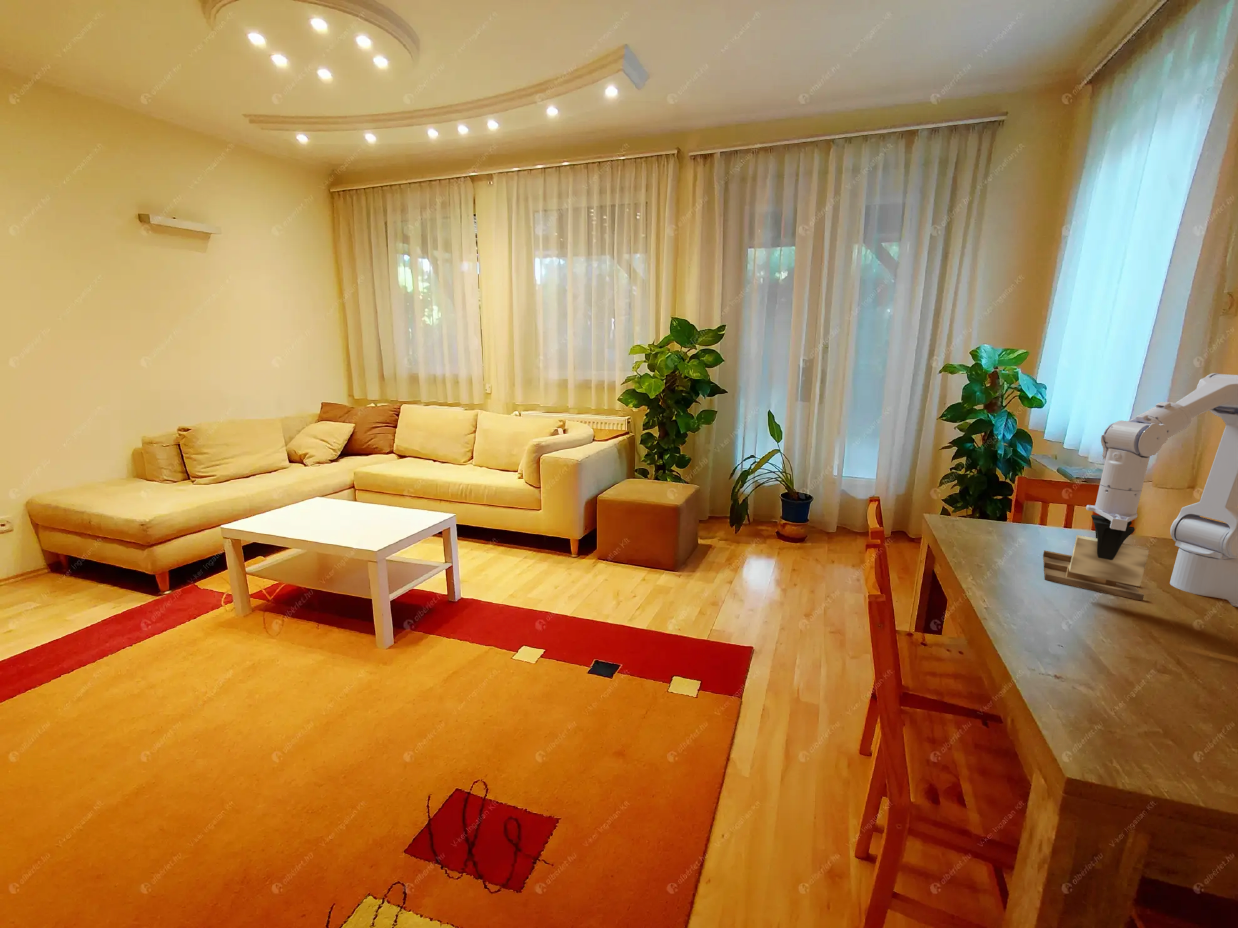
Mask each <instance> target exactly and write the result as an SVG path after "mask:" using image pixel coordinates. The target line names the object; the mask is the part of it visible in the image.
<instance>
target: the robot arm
mask: <svg viewBox="0 0 1238 928" xmlns="http://www.w3.org/2000/svg"><path fill="white" fill-rule="evenodd" d="M1208 411H1209V412H1210V413H1211V414H1213V415H1214V416H1217V417H1218V418H1221V420H1222V421H1223V422H1224V423H1225V428H1224V429H1223V432H1222V435H1221V439H1220V441H1219V443H1218V447H1217V450H1216V453H1215V456H1214V460H1213V462H1212V465H1211V468H1210V471H1209V474H1208V476H1207V479H1206V483H1205V485H1204V488H1203V491H1202V494H1201V497H1200V500H1199V501H1198V502H1195V503H1191V504H1189V505H1186V506H1182V507H1181V509H1180V511H1179V513H1178V515H1177V517H1176V518H1175V519H1174V520H1173V522H1172V524H1171V526H1170V528H1169V529H1170V530H1169V532H1170V536H1171V539H1172V540H1173V541H1174V542H1175V544H1174V546H1176V547H1178V551H1177V554H1176V558H1175V563H1174V565H1173V570H1172V573H1171V577H1170V581H1169V584H1170V586H1171V587H1174V588H1175V589H1177V590H1178V589H1179V590H1181V591H1183V592H1186V593H1190V594H1194V595H1198V596H1202V597H1211V598H1216V599H1217V598H1218V599H1222V600H1227V602H1229V603H1230V605H1231V607H1237V608H1238V374H1228V373H1227V374H1224V373H1218V372H1212V373H1209V374H1208V375H1206V376H1205V377H1202V378H1200V379H1199V381H1198V384H1197V385H1196V388H1195V389H1194V390H1193V391H1191V392H1189V393H1188V394H1186V395H1185V396H1184V397H1182V398H1180V399H1179V400H1177V401H1176V402H1173V401H1170V402H1169V401H1160V402H1158V403H1156V404H1155V406H1154V407H1151V408H1150V409H1147V410H1146V411H1143V413H1141V414H1138V415H1136V416H1135V417H1133V418H1131V419H1128V420H1118V421H1115V422H1112V423H1110V424H1109V425H1108V426H1107V427H1106V428H1105V430H1104V431H1103V434H1101V437H1100V443H1101V446H1102V451H1103V452H1102V454H1101V455H1102V458H1103V460H1104V464H1103V469H1102V473H1101V478H1100V480H1099V481H1100V482H1099V486H1098V491H1097V496H1096V500H1095V501H1096V502H1095V504H1094V505H1091V504H1087V505H1086V506H1085V509H1086V511H1089V512H1094V513H1095V514H1092V515H1091V519H1092V522H1093V525H1094V530H1095V538H1097V554H1098V558H1103V559H1108V560H1113V559H1114V557H1115V556H1116V554H1117V552H1118V550H1119V548H1120V547H1121V545H1122V543H1125V540H1126V539H1128V537H1129V536H1131V535H1132V534H1134V532H1135V530H1136V528H1135V527H1134V526H1131V525H1132V524H1133V520H1136V519H1137V517H1138V512H1137V511H1138V508H1139V503H1140V499H1141V495H1142V490H1143V486H1144V482H1145V477H1146V474H1147V471H1148V466H1149V462H1150V457H1152V456H1155V455H1156V454H1157V453H1159V451H1160V450H1161V448H1162V447H1163V445H1164V444H1165V443H1167V441H1168V440H1169V438H1171V437H1173V436H1175V435H1177V434H1178V433H1181V432H1182V431H1184V430H1186V429H1187V428H1188V427H1190V425H1191V423H1192V419H1193V418H1196V417H1197V416H1200V415H1202V414H1204V413H1207V412H1208Z"/></svg>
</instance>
